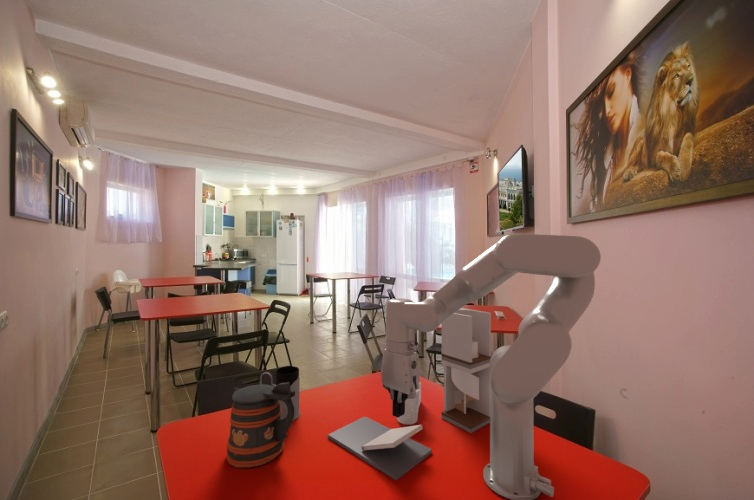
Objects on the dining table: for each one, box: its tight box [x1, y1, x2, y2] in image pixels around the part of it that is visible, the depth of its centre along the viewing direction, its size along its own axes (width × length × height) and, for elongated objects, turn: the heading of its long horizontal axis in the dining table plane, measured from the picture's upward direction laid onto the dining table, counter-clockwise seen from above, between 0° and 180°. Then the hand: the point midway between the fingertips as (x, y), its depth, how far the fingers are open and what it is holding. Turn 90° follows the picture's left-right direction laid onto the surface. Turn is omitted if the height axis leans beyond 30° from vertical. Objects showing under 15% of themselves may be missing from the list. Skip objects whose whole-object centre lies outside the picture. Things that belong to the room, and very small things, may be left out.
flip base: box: [327, 416, 433, 481], centre depth 92 cm, size 26×15×1 cm, turn 46°
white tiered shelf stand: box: [441, 307, 492, 434], centre depth 106 cm, size 11×11×35 cm
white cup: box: [396, 389, 420, 426], centre depth 106 cm, size 8×8×10 cm
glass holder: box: [259, 365, 302, 421], centre depth 109 cm, size 9×14×15 cm, turn 81°
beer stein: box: [226, 382, 295, 469], centre depth 88 cm, size 19×15×20 cm
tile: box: [361, 424, 424, 450], centre depth 88 cm, size 13×12×1 cm
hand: (398, 414), depth 86 cm, fingers closed
